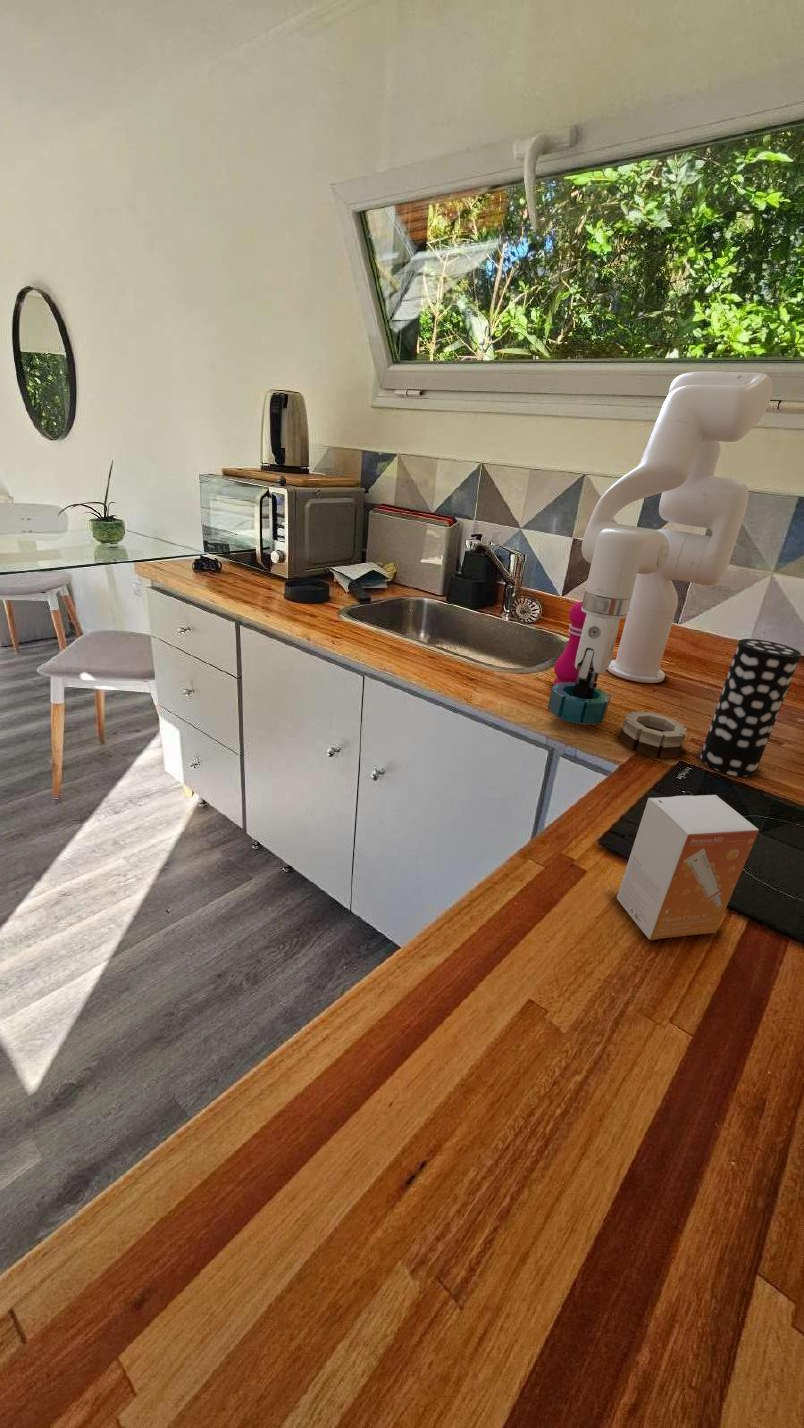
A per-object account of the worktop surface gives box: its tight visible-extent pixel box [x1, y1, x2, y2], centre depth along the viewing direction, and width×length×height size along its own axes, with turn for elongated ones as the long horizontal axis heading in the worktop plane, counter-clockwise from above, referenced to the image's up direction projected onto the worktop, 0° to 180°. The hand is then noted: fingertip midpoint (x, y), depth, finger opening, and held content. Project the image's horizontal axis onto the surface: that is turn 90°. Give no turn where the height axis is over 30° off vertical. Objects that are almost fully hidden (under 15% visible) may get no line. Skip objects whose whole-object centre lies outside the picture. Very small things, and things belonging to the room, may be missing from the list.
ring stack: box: [619, 710, 688, 759], centre depth 101 cm, size 10×10×4 cm
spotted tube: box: [700, 638, 802, 778], centre depth 93 cm, size 8×8×20 cm
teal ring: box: [547, 682, 611, 726], centre depth 105 cm, size 10×10×4 cm
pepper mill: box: [552, 600, 587, 688], centre depth 118 cm, size 7×7×20 cm
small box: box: [616, 794, 760, 941], centre depth 60 cm, size 8×6×13 cm
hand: (581, 703), depth 109 cm, fingers closed on teal ring, 2 cm apart
